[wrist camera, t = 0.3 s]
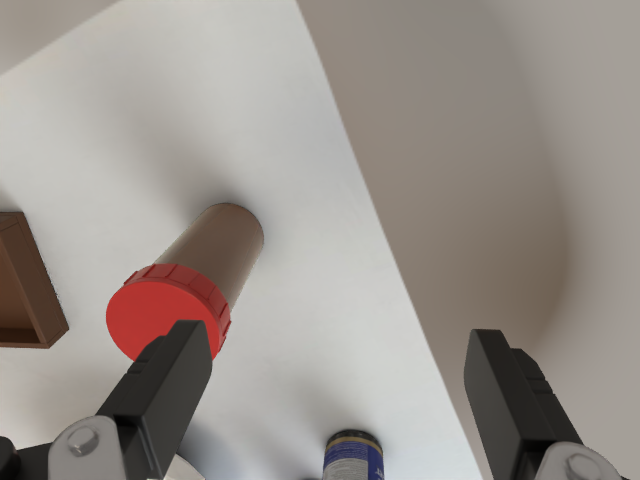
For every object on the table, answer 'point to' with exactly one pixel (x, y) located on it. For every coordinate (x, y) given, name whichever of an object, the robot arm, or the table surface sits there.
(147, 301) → the lid
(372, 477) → the pill bottle
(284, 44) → the table surface
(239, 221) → the jar
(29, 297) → the tray
